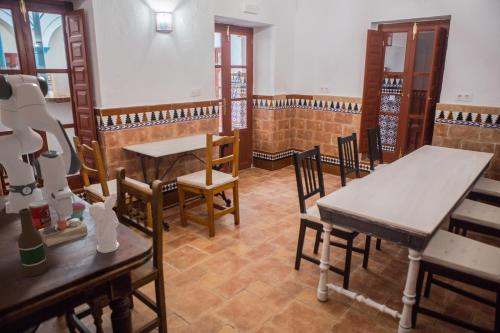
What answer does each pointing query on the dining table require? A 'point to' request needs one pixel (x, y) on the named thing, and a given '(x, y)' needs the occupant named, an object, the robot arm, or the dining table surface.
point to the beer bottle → (31, 246)
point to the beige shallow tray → (63, 234)
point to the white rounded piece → (74, 222)
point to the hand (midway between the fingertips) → (61, 220)
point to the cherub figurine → (105, 224)
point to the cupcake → (77, 209)
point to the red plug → (61, 224)
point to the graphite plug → (49, 229)
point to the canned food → (40, 213)
